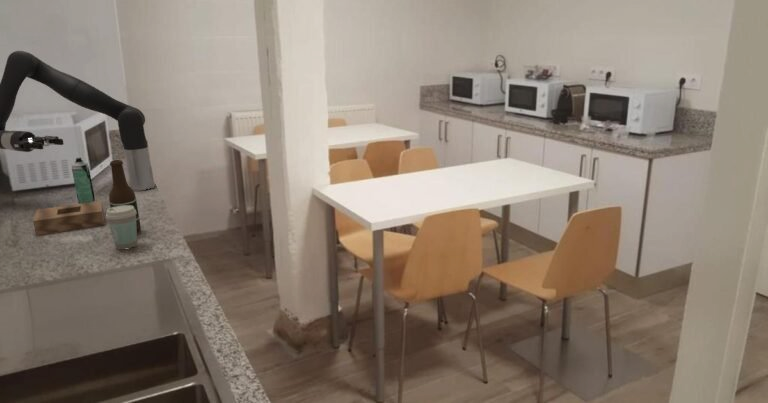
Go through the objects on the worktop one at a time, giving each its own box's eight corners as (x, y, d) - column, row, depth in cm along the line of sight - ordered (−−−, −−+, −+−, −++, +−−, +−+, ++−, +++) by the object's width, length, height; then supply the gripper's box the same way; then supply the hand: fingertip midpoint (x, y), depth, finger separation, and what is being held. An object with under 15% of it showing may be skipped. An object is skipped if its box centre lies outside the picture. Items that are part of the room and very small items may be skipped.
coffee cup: (117, 242, 175) (111, 205, 171) (145, 240, 175) (139, 203, 172) (107, 252, 167) (99, 214, 163) (136, 250, 167) (130, 212, 164)
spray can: (100, 208, 209) (90, 156, 203) (91, 213, 204) (80, 159, 198) (86, 208, 210) (76, 156, 204) (77, 213, 205) (66, 159, 199)
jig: (103, 213, 203) (101, 200, 201) (104, 225, 191) (101, 211, 189) (40, 223, 195) (37, 209, 193) (36, 235, 183) (33, 221, 181)
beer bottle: (146, 229, 185) (135, 158, 178) (129, 238, 178) (116, 164, 171) (127, 228, 187) (115, 157, 180) (109, 235, 180) (96, 162, 173)
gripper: (-2, 134, 201) (33, 137, 196) (34, 128, 213) (67, 130, 209) (2, 154, 203) (37, 158, 198) (37, 147, 216) (70, 150, 211)
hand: (52, 144), depth 203 cm, fingers open, 8 cm apart
